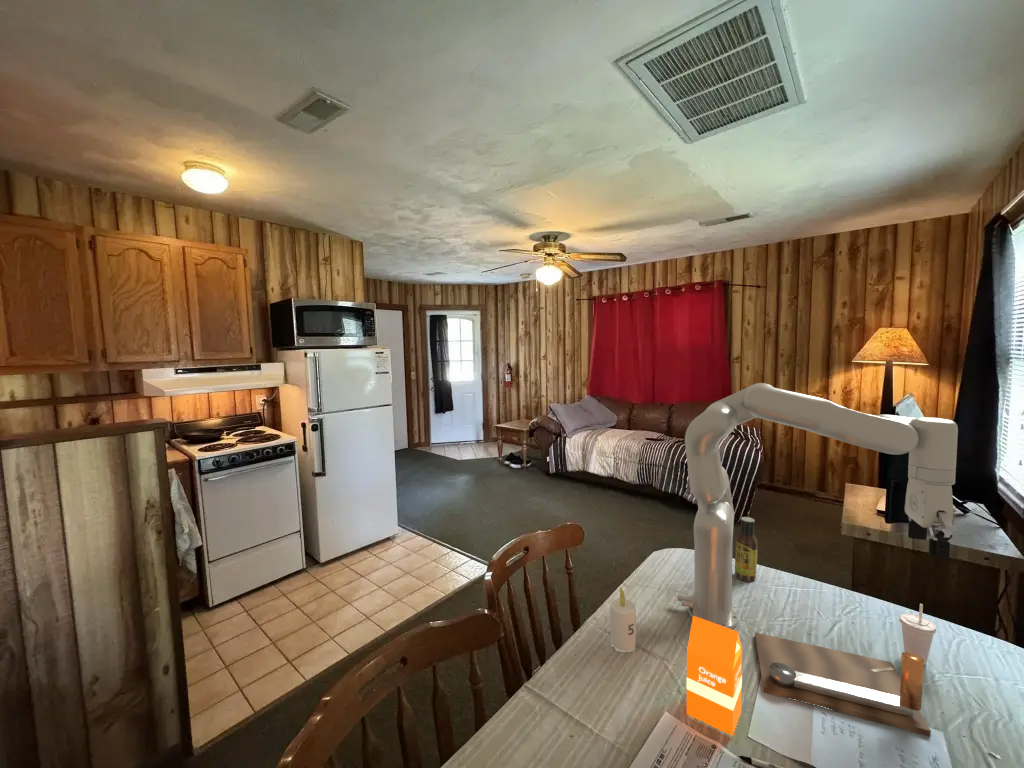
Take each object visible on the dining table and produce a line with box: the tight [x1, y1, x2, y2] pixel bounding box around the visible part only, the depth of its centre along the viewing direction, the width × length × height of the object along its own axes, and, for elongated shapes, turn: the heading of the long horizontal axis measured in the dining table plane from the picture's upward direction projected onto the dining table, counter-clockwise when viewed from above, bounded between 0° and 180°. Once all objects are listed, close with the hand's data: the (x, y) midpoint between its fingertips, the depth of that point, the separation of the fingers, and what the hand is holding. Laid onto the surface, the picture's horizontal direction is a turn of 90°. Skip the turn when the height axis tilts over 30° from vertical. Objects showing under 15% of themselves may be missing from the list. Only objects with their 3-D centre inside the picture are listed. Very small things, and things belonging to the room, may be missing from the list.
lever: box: [769, 651, 925, 717], centre depth 91 cm, size 26×5×12 cm, turn 65°
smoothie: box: [898, 603, 937, 666], centre depth 102 cm, size 6×6×14 cm
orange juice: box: [686, 616, 743, 737], centre depth 88 cm, size 8×9×20 cm
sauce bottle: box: [734, 516, 759, 582], centre depth 139 cm, size 6×6×20 cm
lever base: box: [754, 632, 932, 737], centre depth 98 cm, size 28×20×1 cm
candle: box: [609, 587, 637, 651], centre depth 110 cm, size 6×6×15 cm
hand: (927, 547), depth 97 cm, fingers open, 9 cm apart
